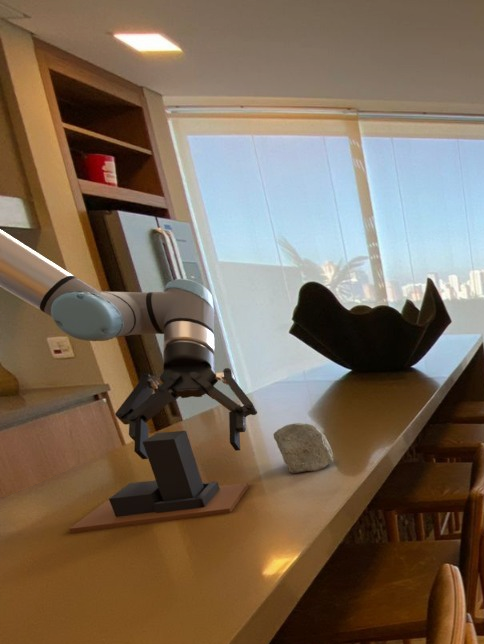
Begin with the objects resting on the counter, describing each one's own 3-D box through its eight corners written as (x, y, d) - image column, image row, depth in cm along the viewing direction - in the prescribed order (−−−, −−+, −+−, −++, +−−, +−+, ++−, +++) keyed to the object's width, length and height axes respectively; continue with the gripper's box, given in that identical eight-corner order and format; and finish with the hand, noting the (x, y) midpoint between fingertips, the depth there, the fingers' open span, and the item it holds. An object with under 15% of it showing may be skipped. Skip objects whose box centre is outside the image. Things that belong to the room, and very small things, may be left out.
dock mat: (71, 535, 83) (60, 509, 82) (111, 503, 95) (102, 481, 94) (231, 514, 90) (223, 490, 89) (249, 487, 102) (243, 466, 101)
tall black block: (165, 508, 90) (142, 441, 86) (177, 496, 95) (156, 433, 91) (195, 505, 91) (174, 438, 87) (206, 493, 96) (186, 430, 92)
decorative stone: (322, 476, 107) (338, 428, 110) (257, 461, 104) (275, 411, 106) (330, 490, 119) (344, 446, 121) (272, 476, 115) (288, 431, 118)
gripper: (272, 362, 113) (277, 453, 106) (117, 369, 104) (111, 469, 97) (260, 336, 106) (265, 432, 99) (93, 342, 98) (85, 447, 91)
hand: (189, 451), depth 98 cm, fingers open, 13 cm apart
